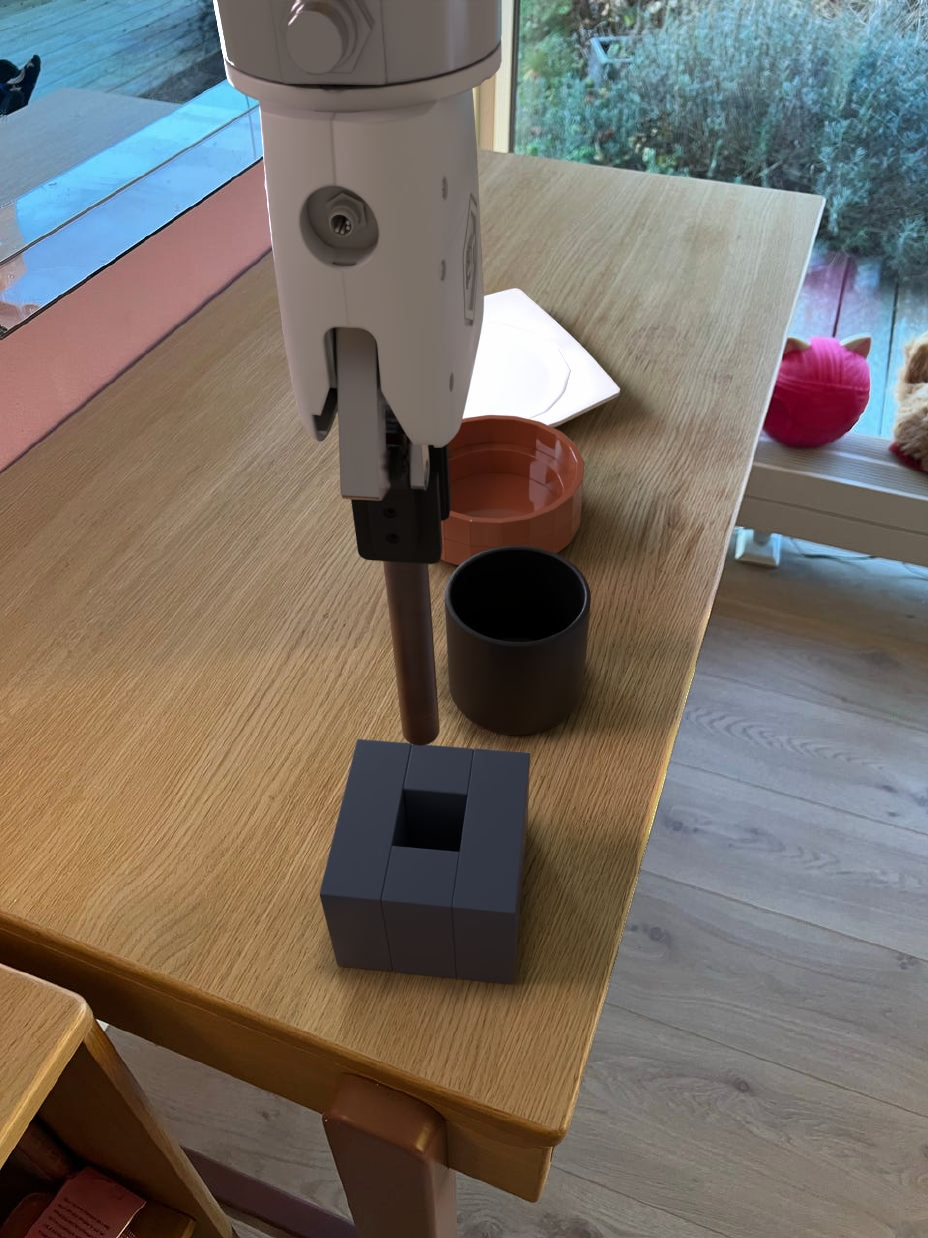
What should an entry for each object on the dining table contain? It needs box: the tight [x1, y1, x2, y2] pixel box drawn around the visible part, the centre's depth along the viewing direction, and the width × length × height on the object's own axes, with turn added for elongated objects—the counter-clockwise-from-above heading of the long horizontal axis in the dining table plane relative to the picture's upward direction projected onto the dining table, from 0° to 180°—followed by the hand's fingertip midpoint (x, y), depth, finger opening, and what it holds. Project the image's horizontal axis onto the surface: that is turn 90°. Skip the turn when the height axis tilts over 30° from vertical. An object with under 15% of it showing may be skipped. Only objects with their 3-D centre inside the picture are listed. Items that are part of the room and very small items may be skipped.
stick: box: [382, 433, 441, 746], centre depth 42 cm, size 2×2×18 cm
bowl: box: [440, 415, 585, 567], centre depth 82 cm, size 14×14×6 cm
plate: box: [462, 287, 621, 429], centre depth 97 cm, size 24×24×3 cm
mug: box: [444, 546, 592, 736], centre depth 68 cm, size 9×12×9 cm
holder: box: [319, 738, 531, 985], centre depth 57 cm, size 10×10×8 cm
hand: (406, 533), depth 39 cm, fingers closed on stick, 1 cm apart
